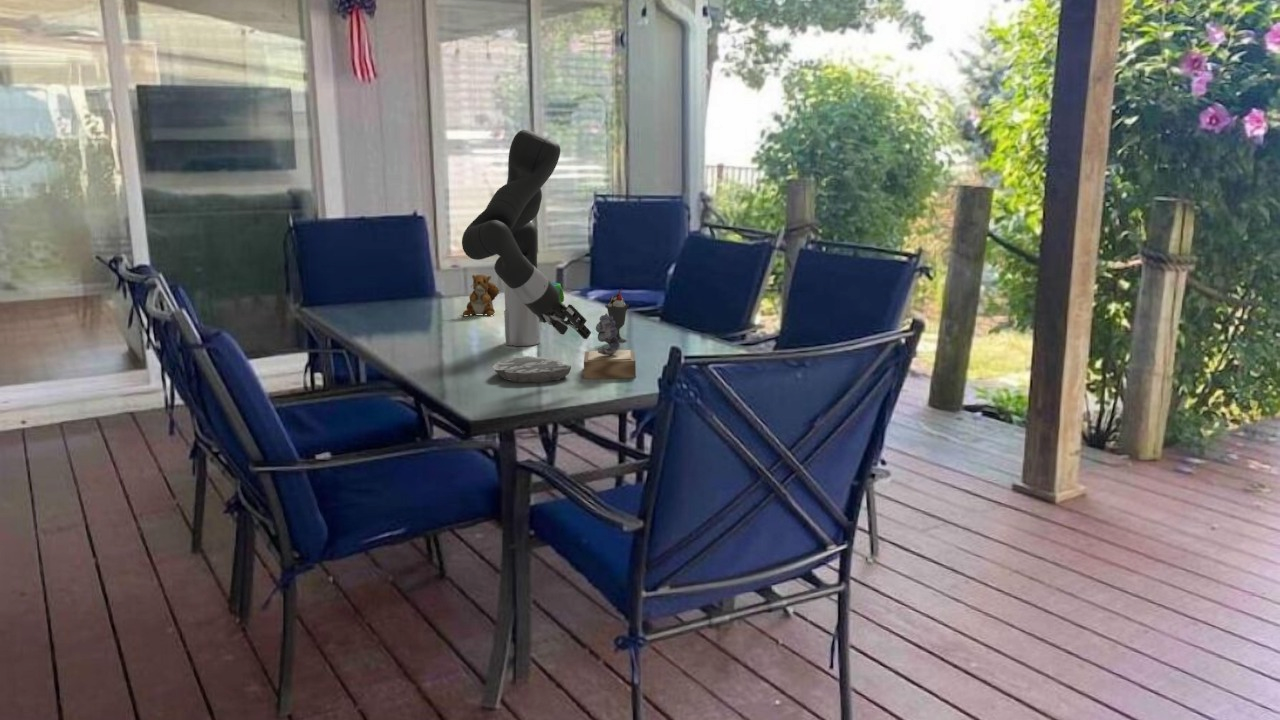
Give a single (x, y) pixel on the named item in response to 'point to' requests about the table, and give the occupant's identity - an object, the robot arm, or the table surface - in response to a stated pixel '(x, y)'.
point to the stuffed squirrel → (482, 296)
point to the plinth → (609, 365)
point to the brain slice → (531, 369)
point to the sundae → (617, 312)
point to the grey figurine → (607, 334)
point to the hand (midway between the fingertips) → (576, 333)
